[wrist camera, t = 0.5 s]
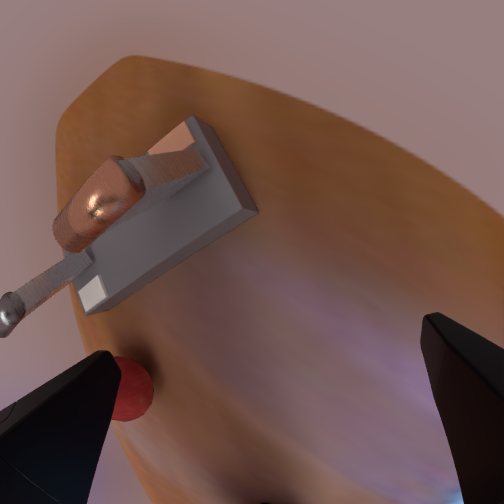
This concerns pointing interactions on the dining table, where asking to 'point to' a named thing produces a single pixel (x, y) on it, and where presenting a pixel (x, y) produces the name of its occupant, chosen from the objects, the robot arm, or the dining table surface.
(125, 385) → the onion
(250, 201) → the switch box
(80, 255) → the grey lever
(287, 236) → the dining table surface
